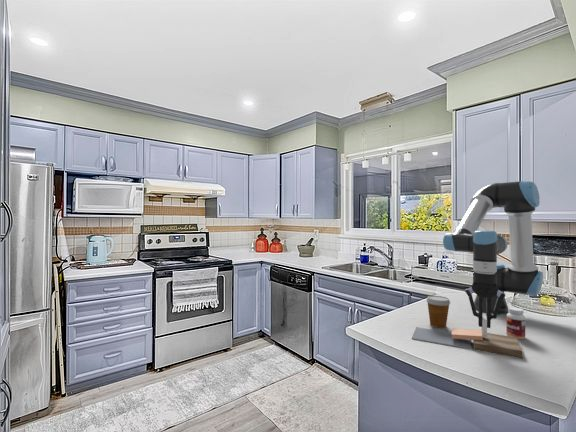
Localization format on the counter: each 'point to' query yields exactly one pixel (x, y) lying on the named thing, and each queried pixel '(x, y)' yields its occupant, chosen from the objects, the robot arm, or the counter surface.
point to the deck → (499, 345)
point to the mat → (440, 338)
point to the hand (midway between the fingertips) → (484, 335)
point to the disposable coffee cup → (438, 310)
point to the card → (467, 334)
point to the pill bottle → (516, 323)
